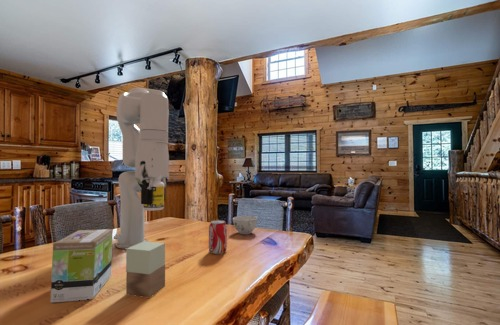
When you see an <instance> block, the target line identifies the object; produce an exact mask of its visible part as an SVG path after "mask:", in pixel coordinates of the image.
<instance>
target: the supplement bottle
mask: <svg viewBox="0 0 500 325" xmlns="http://www.w3.org/2000/svg"><path fill="white" fill-rule="evenodd" d="M147 177H148V176H147ZM161 179H162V176H161V175H160V176H159V177H158V178H153V182H152V187H151V189H153V204H151V205H149V204H143V208H144V210H145V211H162V210H163V209H164V208H165V201H164V183H163V182H161ZM147 183H148V181H147Z"/></svg>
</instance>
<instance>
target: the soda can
mask: <svg viewBox="0 0 500 325" xmlns="http://www.w3.org/2000/svg"><path fill="white" fill-rule="evenodd" d="M227 237H228V226H227V224H226V221H225V220H223V219H222V220H221V219H216V220H215V219H214V220H211V221H210V224H209V226H208V251H209V252H210V253H211V254H213V255H222V254H224V253H225V252H226V251H227V248H228V238H227Z"/></svg>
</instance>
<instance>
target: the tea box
mask: <svg viewBox="0 0 500 325" xmlns="http://www.w3.org/2000/svg"><path fill="white" fill-rule="evenodd" d="M112 255H113V229H109V228H107V229H105V228H104V229H80V230H79V229H78V230H76V231H74V232H72V233H70V234H69V235H67V236H65V237H63V238H60V239H59V240H57V241H55V242H53V244H52V261H51V285H50V286H51V288H50V300H49V301H50V302H49V303H66V302H67V303H68V302H78V301H79V300H80V301H87V299H89V300H93V299H94V298H95V297H96V295H97V294H98V293H99V292H100V290H102V288H103V286H104V285H105V284H106V283H107V281H109V279H110V278H111V276H112V265H113V264H112V260H113V256H112Z"/></svg>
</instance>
